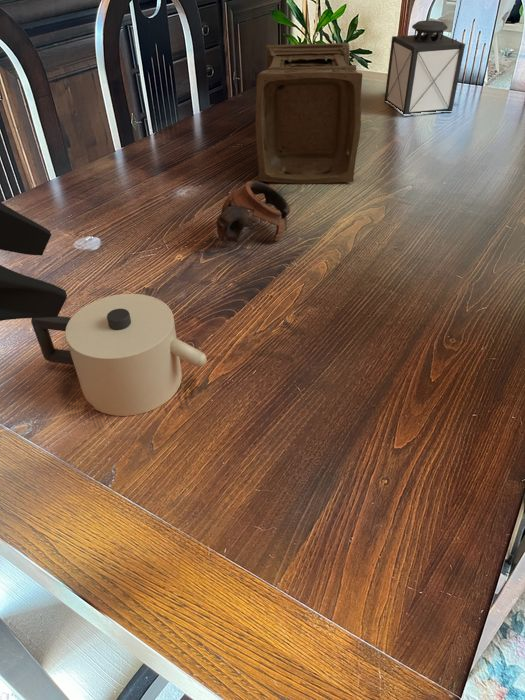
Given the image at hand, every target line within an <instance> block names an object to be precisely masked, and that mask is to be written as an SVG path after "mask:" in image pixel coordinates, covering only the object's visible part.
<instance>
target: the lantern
mask: <svg viewBox="0 0 525 700" xmlns="http://www.w3.org/2000/svg"><path fill="white" fill-rule="evenodd" d="M462 1H463V0H460V1H459V8H458V11H457V14H456V19H455V23H454V28H453V32H452V38H451V37H450V36H447V35H444V32H445V31H446V30H448V28H449V27H448V25H447V24H446V23H445V22H443V21H441V20H440V21H439V20H419V21H417V22H415V23H414V24H412V27H411V28H412V29H414V34H410V35H405V31H406V25H407V18H408V13H409V12H408V10H409V6H410V5H409V4H410V0H407V5H406V12H405V20H404V27H403V33H402V35H398V36H397V35H394V36H391V43H390V52H389V61H388V68H387V76H386V83H385V85H386V86H385V92H384V101H388V102H389V103H391V104H392V105H394V106H395V107H396V108H398V109H399V110H400V111H402V112H403V114H411V113H421V112H436V111H452V112H453V109H454V103H455V99H456V95H457V88H458V83H459V78H460V72H461V69H462V63H463V57H464V53H465V49H466V43H464V42H461V41H459V40H456V39H455V38H454V36H455V32H456V28H457V24H458V18H459V16H460V10H461V7H462Z"/></svg>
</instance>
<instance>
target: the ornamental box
mask: <svg viewBox="0 0 525 700" xmlns="http://www.w3.org/2000/svg"><path fill="white" fill-rule="evenodd" d="M265 52H266V53H265V68H266V70H262V71H261V72H259V73H258V74H257V75H256V94H255V95H256V97H255V145H256V154H257V163H258V178H257V181H258V182H262V183H279V184H298V185H309V184H312V185H314V184H315V185H316V184H330V183H331V184H333V183H354V181H355V168H356V160H357V155H358V149H359V143H360V138H361V127H362V87H363V86H362V84H363V73H362V72H358V71H357V65H356V64H350V58H351V57H350V55H351V54H350V53H351V50H350V43H348V42H336V43H335V42H334V43H329V42H328V43H296V44H295V43H293V44H291V43H290V44H275V45H274V44H271V45H270V44H266V45H265Z"/></svg>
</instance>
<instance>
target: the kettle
mask: <svg viewBox="0 0 525 700" xmlns="http://www.w3.org/2000/svg"><path fill="white" fill-rule="evenodd" d="M174 317H175V316H174V313H173V312H172V310H171V308H170V306H169V305H168V304H166V303H165V302H164V301H162V300H161V299H160V298H159V299H158V298H156V297H154V296H150V295H147V294H142V293H121V294H119V293H118V294H114V295H109V296H105V297H102V298H99V299H96V300H94V301H92V302H90V303H88V304H86V305H85V306H82V307H81V308H80V309H78V310H77V311H76V312H75V313H74V314H73V315H72V316H71V317H70V316H61V315H58V316H57V317H47V318H30V319H31V320H30V323H31V325H32V328H33V331H34V333H35V334H34V335H35V336H36V340H37V342H38V345H39V348H40V351H41V353H42V356H43V359H44V360H45V361H47V362H49V363H53V364H54V363H55V364H61V365H62V364H63V365H72V366H74V369H75V372H76V375H77V378H78V381H79V385H80V389H81V391H82V394H83V397H84V399H85V400H86V401H87V402H88V403H89V404H90V405H91V406H92V408H93V409H95V410H96V411H98V412H100V413H103V414H106V415H110V416H116V417H129V416H130V417H131V416H136V415H141V414H145V413H148V412H151V411H153V410H156V409H158V408H159V407H161V406H162V405H164V404H166V403H167V402H168V401H170V400H171V398H173V397H174V395H175V394H176V393H177V392H178V390H179V388H180V386H181V383H182V379H183V371H182V365H181V360H183V361H185V362H188V364H191V365H193V366H194V367H197V368H201V367H203V366H205V364H207V361H208V359H207V355H206V354H205V353H204V352H203V351H201V350H199V349H197V348H195V347H194V346H192V345H190V344H188V343H186V342H184V341H183V340H181V339H179V338H177V332H176V325H175V318H174ZM51 330H52V331H60V332H65V333H64V336H65V340H66V344H67V348H68V349H61V348H55V346H54V343H53V340H52V335H51V333H50V331H51Z"/></svg>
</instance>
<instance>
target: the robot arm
mask: <svg viewBox="0 0 525 700" xmlns="http://www.w3.org/2000/svg"><path fill="white" fill-rule="evenodd" d="M51 237H52V233H51V230H49V229H48V228H46V227H45V226H43V225H41V224H39V223H38V222H35V220H33V219H30V218H29V217H27V216H25V215H23V214H21V213H19V212H18V211H16V210H14V209H13V208H11V207H9V206H7V205H6V204H5V203H3V202H1V201H0V251H6V252H11V253H15V254H22V255H28V256H43V255H44V253H45V250H46V248H47V245H48V244H49V241H50V239H51ZM67 299H68V295H67V290H65V289H63V288H62V287H60V286H58V285H55V284H53V283H50V282H47V281H45V280H41V279H38V278H36V277H31V276H29V275H25V274H22V273H19V272H17V271H14V270H12V269H10V268H7V267H5V266H4V265H2V264H0V322H2V321H10V320H11V321H12V320H23V319H24V320H25V319H32V318H47V317H57V316H59V314H60V312H61V311H62V309H63V307H64V305H65V303H66V300H67Z"/></svg>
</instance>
